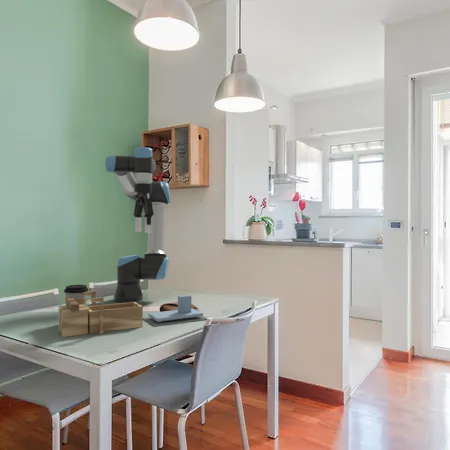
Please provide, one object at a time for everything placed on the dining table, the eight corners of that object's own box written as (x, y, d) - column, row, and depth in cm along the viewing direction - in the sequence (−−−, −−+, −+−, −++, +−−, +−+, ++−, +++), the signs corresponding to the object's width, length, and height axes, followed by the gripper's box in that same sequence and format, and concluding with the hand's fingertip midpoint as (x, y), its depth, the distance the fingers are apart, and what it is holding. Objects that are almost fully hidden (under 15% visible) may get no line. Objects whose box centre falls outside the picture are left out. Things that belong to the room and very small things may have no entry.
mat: (143, 318, 168) (143, 317, 168) (194, 312, 180) (194, 312, 180) (153, 326, 156) (153, 325, 156) (208, 319, 168) (208, 318, 168)
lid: (148, 318, 167) (148, 296, 167) (192, 313, 178) (192, 292, 177) (157, 324, 158) (157, 301, 158) (203, 318, 168) (203, 296, 168)
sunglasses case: (172, 314, 172) (167, 300, 174) (163, 321, 176) (157, 307, 178) (200, 308, 186) (194, 295, 188) (190, 314, 190) (185, 301, 192)
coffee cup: (67, 320, 165) (68, 284, 165) (91, 319, 166) (91, 284, 166) (60, 326, 155) (60, 288, 155) (85, 325, 156) (85, 288, 156)
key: (65, 303, 154) (65, 297, 154) (72, 302, 155) (72, 296, 155) (71, 311, 140) (71, 305, 140) (79, 311, 141) (79, 304, 141)
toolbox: (57, 328, 152) (58, 294, 152) (133, 319, 167) (133, 288, 166) (63, 338, 139) (63, 301, 139) (144, 328, 153) (144, 294, 153)
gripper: (126, 185, 181) (126, 231, 181) (143, 180, 159) (143, 233, 159) (142, 186, 184) (142, 231, 184) (161, 181, 162) (161, 233, 163)
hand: (143, 232), depth 172 cm, fingers open, 13 cm apart
